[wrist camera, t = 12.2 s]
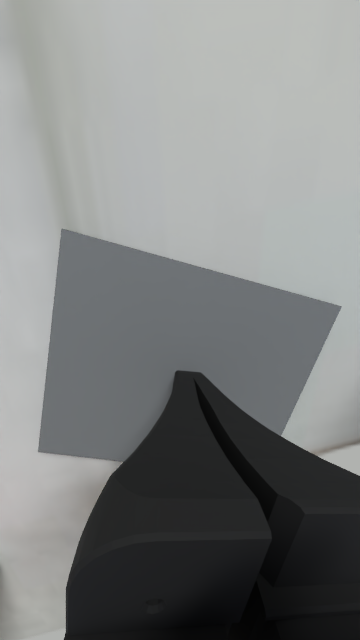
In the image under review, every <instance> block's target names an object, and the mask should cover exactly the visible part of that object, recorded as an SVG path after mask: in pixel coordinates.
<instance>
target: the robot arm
mask: <svg viewBox="0 0 360 640" xmlns="http://www.w3.org/2000/svg"><path fill="white" fill-rule="evenodd" d="M64 640H360V476H358V475H356V474H354V473H352V472H350V471H347V470H345V469H343V468H341V467H339V466H336V465H334V464H332V463H330V462H328V461H325V460H323V459H321V458H319V457H318V456H316V455H314V454H312V453H310V452H308V451H306V450H304V449H302V448H300V447H298V446H297V445H295V444H293V443H291V442H290V441H288V440H286V439H284V438H283V437H281V436H280V435H278V434H276V433H275V432H273V431H271V430H270V429H268V428H267V427H265V426H264V425H262V424H261V423H259V422H258V421H256V420H255V419H254V418H252V417H251V416H249V415H248V414H247V413H245V412H244V411H243V410H242V409H240V408H239V407H238V406H237V405H236V404H234V403H233V402H232V401H231V400H230V399H229V398H227V397H226V396H225V395H224V394H223V393H222V392H221V391H220V390H219V389H218V388H217V387H216V386H215V385H214V384H213V383H212V382H211V381H210V380H209V379H208V378H206V377H205V376H204V375H203V374H202V373H201V372H192V371H181V370H177V371H176V372H175V376H174V382H173V389H172V393H171V396H170V398H169V400H168V403H167V405H166V407H165V409H164V410H163V412H162V414H161V416H160V417H159V419H158V420H157V422H156V424H155V425H154V427H153V428H152V429H151V431H150V432H149V434H148V435H147V436H146V437H145V439H144V440H143V441H142V442H141V443H140V445H139V446H138V447H137V448H136V450H135V451H134V452H133V453H132V454H131V455H130V456H129V457H128V458H127V459H126V460H125V461H124V462H123V463H122V464H121V465H120V466H119V467H118V469H117V470H116V471H115V472H114V473H113V474H112V475H111V476H110V478H109V480H108V482H107V483H106V485H105V487H104V489H103V491H102V493H101V494H100V496H99V498H98V500H97V502H96V504H95V506H94V508H93V510H92V512H91V514H90V516H89V519H88V521H87V523H86V526H85V528H84V530H83V533H82V536H81V538H80V541H79V544H78V547H77V550H76V554H75V557H74V560H73V564H72V567H71V571H70V574H69V578H68V582H67V587H66V634H65V638H64Z"/></svg>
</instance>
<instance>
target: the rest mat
mask: <svg viewBox="0 0 360 640" xmlns="http://www.w3.org/2000/svg"><path fill="white" fill-rule="evenodd" d="M341 307H342V306H338V305H334V304H331V303H327V302H324V301H320V300H316V299H313V298H309V297H306V296H302V295H298V294H295V293H291V292H288V291H284V290H280V289H277V288H273V287H270V286H266V285H262V284H259V283H255V282H252V281H248V280H244V279H241V278H237V277H234V276H230V275H226V274H223V273H219V272H216V271H212V270H208V269H205V268H201V267H198V266H194V265H191V264H187V263H183V262H180V261H176V260H173V259H169V258H165V257H162V256H158V255H155V254H151V253H147V252H144V251H140V250H137V249H133V248H129V247H126V246H122V245H119V244H115V243H111V242H108V241H104V240H101V239H97V238H93V237H90V236H86V235H83V234H79V233H75V232H72V231H68V230H65V229H62V230H61V239H60V249H59V258H58V268H57V277H56V287H55V296H54V306H53V315H52V325H51V334H50V344H49V353H48V363H47V372H46V382H45V391H44V401H43V410H42V419H41V429H40V438H39V448H38V452H43V453H52V454H61V455H70V456H79V457H87V458H96V459H105V460H114V461H123V462H124V461H125V460H126V459H127V458H128V457H129V456H130V455H131V454H132V453H133V452H134V451H135V450H136V448H137V447H138V446H139V445H140V443H141V442H142V441H143V440H144V439H145V437H146V436H147V435H148V434H149V432H150V431H151V429H152V428H153V427H154V425H155V424H156V422H157V420H158V419H159V417H160V416H161V414H162V412H163V410H164V409H165V407H166V405H167V403H168V400H169V398H170V396H171V393H172V389H173V382H174V376H175V372H176V371H177V370H181V371H192V372H201V373H202V374H203V375H204V376H205V377H206V378H208V379H209V380H210V381H211V382H212V383H213V384H214V385H215V386H216V387H217V388H218V389H219V390H220V391H221V392H222V393H223V394H224V395H225V396H226V397H227V398H229V399H230V400H231V401H232V402H233V403H234V404H236V405H237V406H238V407H239V408H240V409H242V410H243V411H244V412H245V413H247V414H248V415H249V416H251V417H252V418H254V419H255V420H256V421H258V422H259V423H261V424H262V425H264V426H265V427H267V428H268V429H270V430H271V431H273V432H275V433H276V434H278V435H280V436H281V435H282V433H283V431H284V428H285V426H286V424H287V422H288V420H289V418H290V416H291V414H292V411H293V409H294V407H295V405H296V403H297V401H298V399H299V396H300V394H301V392H302V390H303V388H304V386H305V384H306V382H307V379H308V377H309V375H310V373H311V371H312V369H313V367H314V364H315V362H316V360H317V358H318V356H319V354H320V352H321V350H322V347H323V345H324V343H325V341H326V339H327V337H328V335H329V332H330V330H331V328H332V326H333V324H334V322H335V320H336V318H337V315H338V313H339V311H340V309H341Z"/></svg>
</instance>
